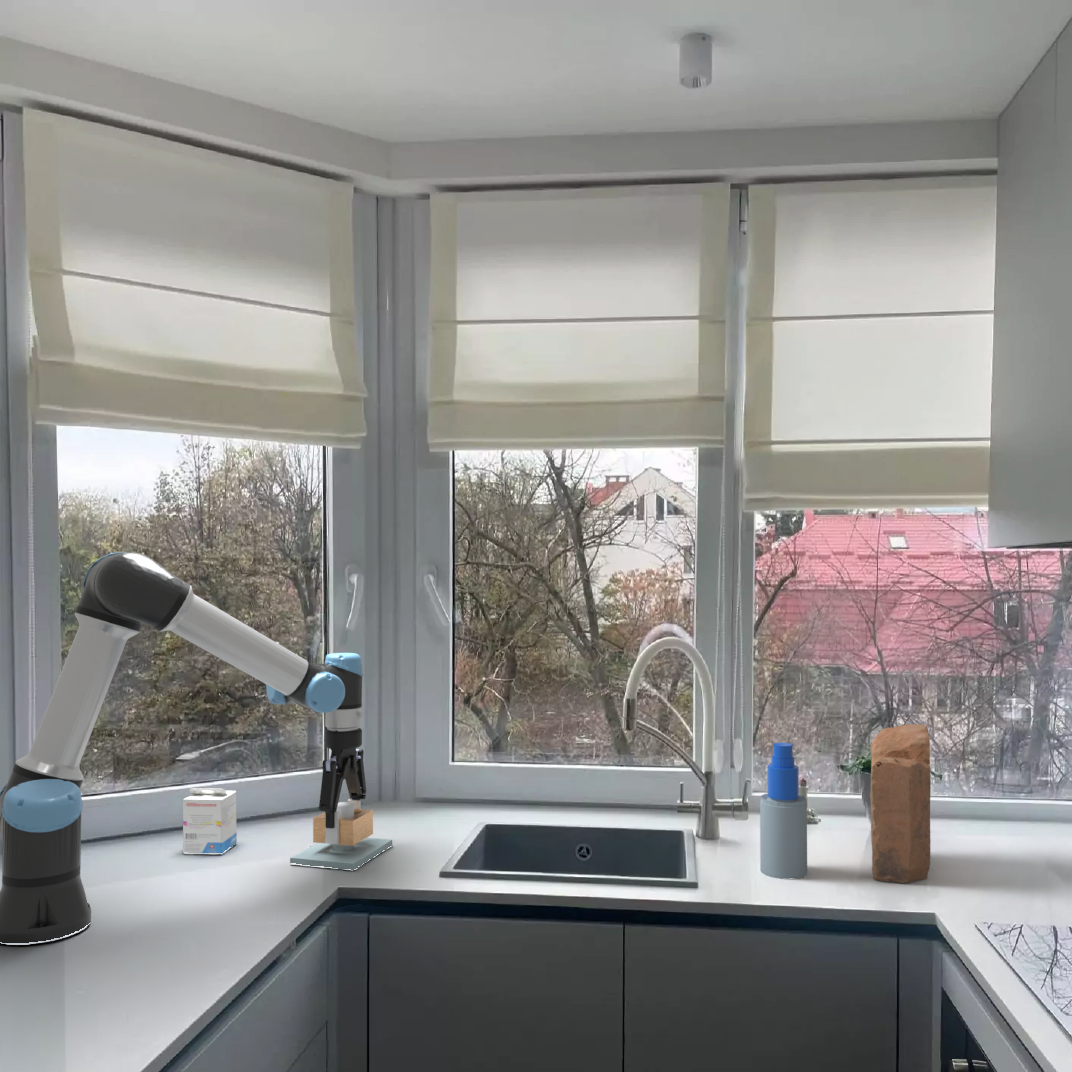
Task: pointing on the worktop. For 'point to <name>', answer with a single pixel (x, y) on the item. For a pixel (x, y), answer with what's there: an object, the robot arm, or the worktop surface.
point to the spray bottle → (783, 819)
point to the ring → (346, 827)
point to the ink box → (209, 820)
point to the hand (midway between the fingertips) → (343, 837)
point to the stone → (900, 803)
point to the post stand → (342, 849)
